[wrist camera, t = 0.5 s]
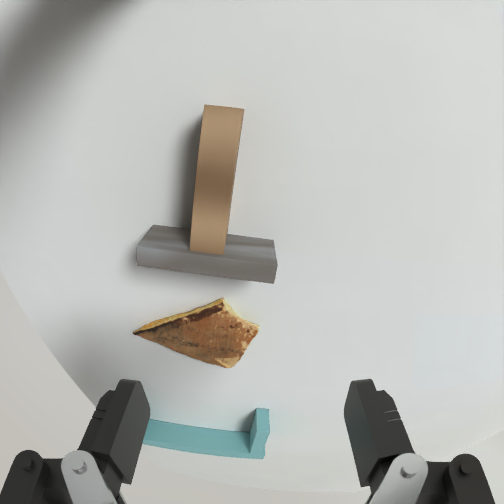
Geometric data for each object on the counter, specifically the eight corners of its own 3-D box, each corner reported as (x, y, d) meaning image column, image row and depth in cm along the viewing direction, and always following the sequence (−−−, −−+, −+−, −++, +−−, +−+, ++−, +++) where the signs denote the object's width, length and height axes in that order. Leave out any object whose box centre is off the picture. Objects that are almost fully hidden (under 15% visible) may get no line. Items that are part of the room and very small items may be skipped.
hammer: (163, 102, 21) (144, 101, 17) (294, 117, 22) (305, 118, 18) (153, 241, 26) (136, 265, 22) (270, 256, 27) (273, 283, 23)
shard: (136, 324, 30) (131, 335, 29) (156, 265, 28) (151, 275, 26) (232, 362, 32) (231, 374, 31) (264, 310, 30) (265, 321, 28)
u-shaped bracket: (128, 389, 34) (120, 410, 31) (272, 409, 35) (274, 431, 32) (135, 421, 37) (129, 440, 34) (262, 438, 39) (263, 459, 35)
